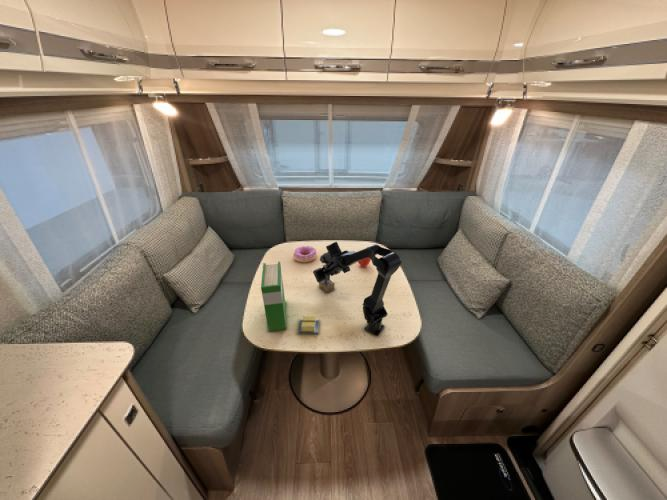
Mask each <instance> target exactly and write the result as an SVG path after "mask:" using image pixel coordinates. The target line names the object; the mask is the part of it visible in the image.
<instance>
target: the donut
mask: <svg viewBox="0 0 667 500" xmlns="http://www.w3.org/2000/svg"><path fill="white" fill-rule="evenodd" d="M293 258H294V260H295V261H297V262H299V263H309V262H313V261H314V260H316V258H317V250H316V248H315V247H313V246H311V245H310V246H309V245H304V246H300V247H297V248H295V249H294V252H293Z"/></svg>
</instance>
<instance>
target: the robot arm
mask: <svg viewBox="0 0 667 500" xmlns="http://www.w3.org/2000/svg"><path fill="white" fill-rule="evenodd" d="M325 249H326V251H327V252H324V253H323V254H322V255H320V256H319V261H320V262H321V263H322V264H324V265H325V264H326V265H325V266H326V268H325V267H323V266H322V267H319V268H315V269H314V270H313V271H312V274H313V277H314V278H315V280H316V282H317V283H319V282H321V281H324V280H326V279H328V278H330V279H331V277H333V276H337V275H339V274H341V272H343V274H346V273H348V272H351V268H350V267H351V266H353V265H355V264H357V263H358V261H359V260H362V259H365V258H368V257H369V258H370V259H371V260H370V262H371V263H372V265H373V266H374V267H376V272H377V276H376V279H375V281H374V285H373V288H372V291H371V294H369V295H368V296H366V297H364V298H363V302H362V312H363V313H362V314H363V317H364V320H365V321H366V323H367V325H366V326H365V327H364V330H365V331H366V332H369V333H371V334H373V335H375V336H379V335H380V334H381V332H382V331H383V329H385V325H384V324H383V319H385V318H387V316H388V314H389V313H388V312H387V309H386V307H385V302H384V300H383V299H384V296H385V294H386V292H387V288H388V285H389V283H390V281H391V279H392V276H393V275H394V274H395V273H396V272H397V271H398V270H399V268H400V267H401V265H402V260H401V256H400V255H399V254H398V253H396V252H394V251H393V250H392V249H389V248H386V247H383V246H380V245H379V244H377V243H376V244H372V245H369V246H367V247H366V248H363V249H360V250H358V251H355V250H352V251H349V250H347V249H346V250H343V251H342V250H341V248H340V245H339V243H338V241H334V242H332V243H330V244H328V245H326V246H325ZM377 255H378V256H381V257H379V258H378V257H377ZM329 276H330V277H329Z"/></svg>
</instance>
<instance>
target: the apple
mask: <svg viewBox="0 0 667 500" xmlns="http://www.w3.org/2000/svg"><path fill="white" fill-rule="evenodd" d="M370 262H371V259H370V258H369V257H368V258H365V259H362V260H359V261H358V262H357V263H358V264H359V265H360V267H361V268H366V267H368V265H369V264H370Z"/></svg>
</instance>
